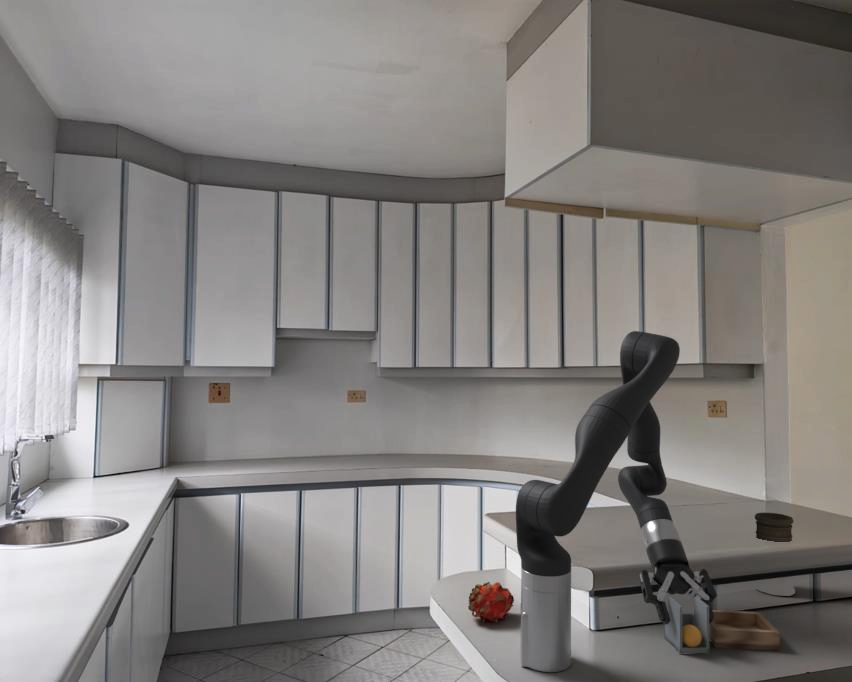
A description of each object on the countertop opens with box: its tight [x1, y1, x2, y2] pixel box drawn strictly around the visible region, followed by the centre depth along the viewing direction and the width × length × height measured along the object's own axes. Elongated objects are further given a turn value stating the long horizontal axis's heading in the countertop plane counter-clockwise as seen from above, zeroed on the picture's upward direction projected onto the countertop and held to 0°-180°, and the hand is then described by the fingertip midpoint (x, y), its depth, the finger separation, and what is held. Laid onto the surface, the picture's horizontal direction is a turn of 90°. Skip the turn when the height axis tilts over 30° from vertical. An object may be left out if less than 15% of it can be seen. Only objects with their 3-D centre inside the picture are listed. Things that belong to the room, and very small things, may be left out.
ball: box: [682, 625, 702, 647], centre depth 126 cm, size 4×4×4 cm
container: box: [754, 512, 794, 542], centre depth 158 cm, size 9×9×18 cm
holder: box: [663, 596, 710, 655], centre depth 128 cm, size 7×6×9 cm
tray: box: [709, 609, 781, 652], centre depth 132 cm, size 12×10×4 cm
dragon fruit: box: [467, 581, 515, 623], centre depth 141 cm, size 8×8×12 cm
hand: (688, 622), depth 127 cm, fingers open, 8 cm apart
